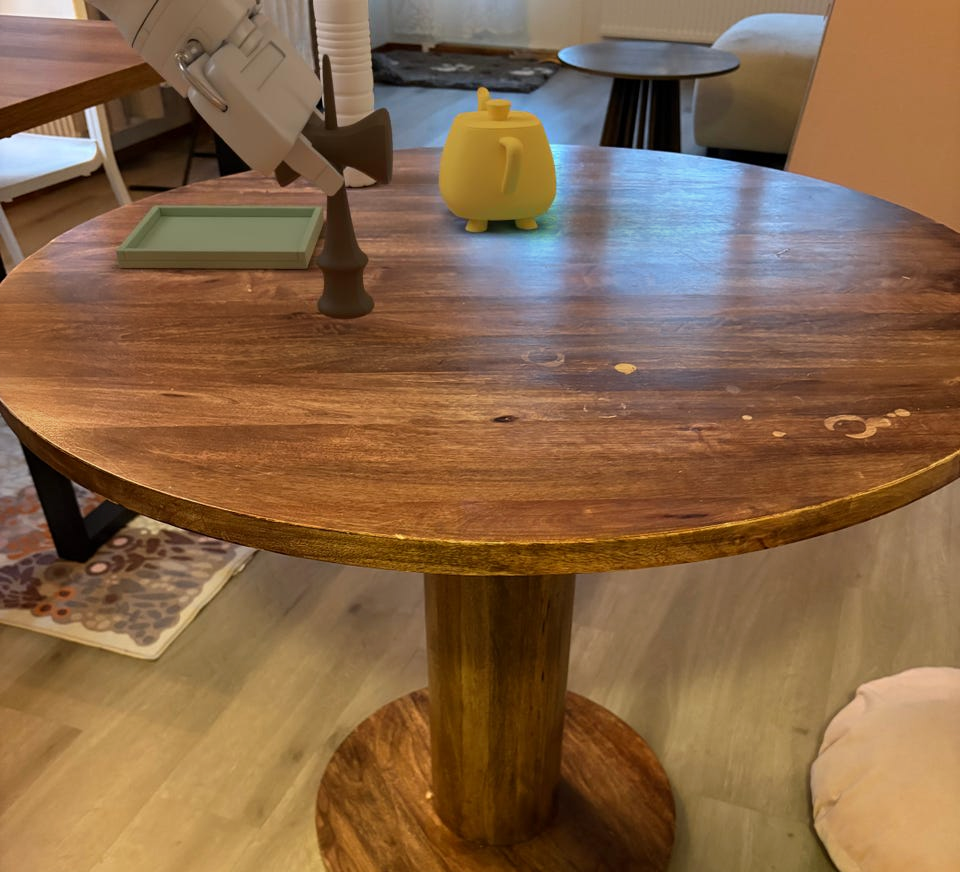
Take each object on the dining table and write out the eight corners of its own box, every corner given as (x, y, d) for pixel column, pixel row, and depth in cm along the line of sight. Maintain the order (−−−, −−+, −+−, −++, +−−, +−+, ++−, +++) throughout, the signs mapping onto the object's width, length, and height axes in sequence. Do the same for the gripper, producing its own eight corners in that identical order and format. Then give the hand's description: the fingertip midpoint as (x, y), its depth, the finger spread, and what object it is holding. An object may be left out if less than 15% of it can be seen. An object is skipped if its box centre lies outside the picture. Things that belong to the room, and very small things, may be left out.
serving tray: (119, 268, 96) (115, 250, 94) (157, 221, 107) (153, 205, 106) (307, 269, 96) (305, 251, 95) (324, 222, 108) (322, 206, 106)
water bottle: (327, 175, 123) (305, -59, 106) (375, 173, 124) (361, -59, 107) (333, 194, 116) (311, -52, 100) (384, 191, 117) (370, -53, 101)
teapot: (530, 190, 118) (534, 79, 110) (571, 241, 103) (579, 117, 95) (427, 195, 116) (424, 83, 108) (454, 248, 101) (452, 122, 93)
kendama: (296, 300, 85) (267, 46, 72) (400, 300, 85) (390, 47, 72) (288, 326, 80) (255, 60, 67) (398, 326, 81) (387, 61, 67)
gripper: (195, 18, 59) (357, 182, 66) (251, -19, 75) (377, 117, 81) (142, 95, 62) (302, 246, 69) (206, 44, 78) (332, 171, 84)
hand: (343, 176), depth 75 cm, fingers closed on kendama, 5 cm apart
